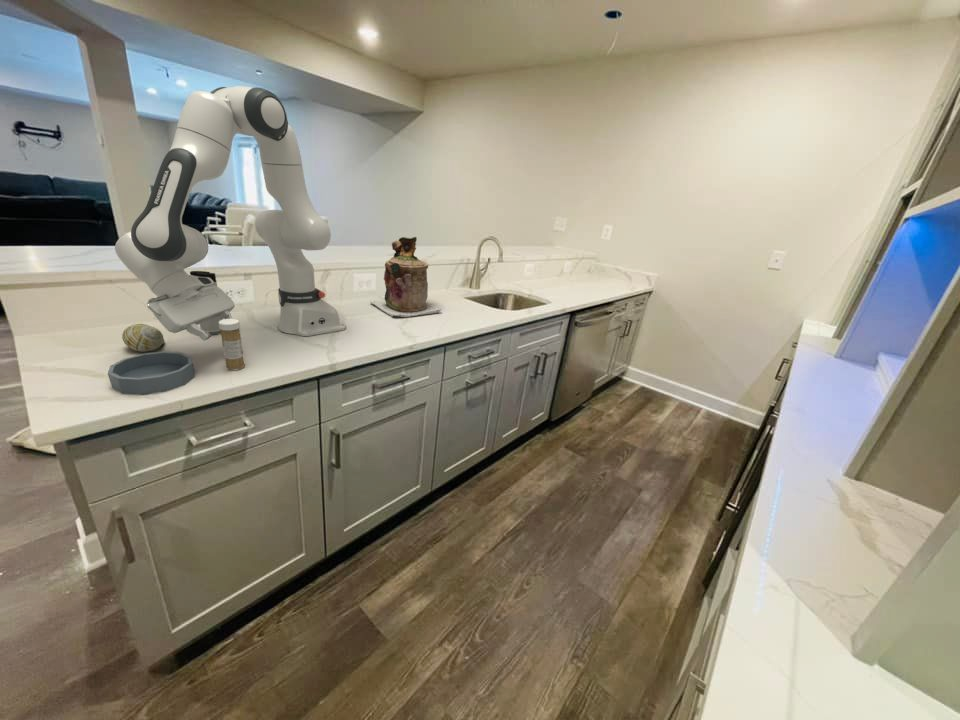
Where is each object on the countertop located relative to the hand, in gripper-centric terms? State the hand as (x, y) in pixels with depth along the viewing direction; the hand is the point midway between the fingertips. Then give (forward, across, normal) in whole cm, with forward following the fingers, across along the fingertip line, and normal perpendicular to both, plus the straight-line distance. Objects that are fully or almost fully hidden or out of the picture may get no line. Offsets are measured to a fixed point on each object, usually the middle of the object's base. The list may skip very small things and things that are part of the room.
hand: (221, 332), depth 101 cm
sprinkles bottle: (+9, 0, +5) cm, 10 cm away
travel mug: (-7, +20, +21) cm, 30 cm away
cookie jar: (+27, +75, -14) cm, 81 cm away
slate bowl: (0, -12, +14) cm, 18 cm away
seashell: (-12, +4, +26) cm, 29 cm away
